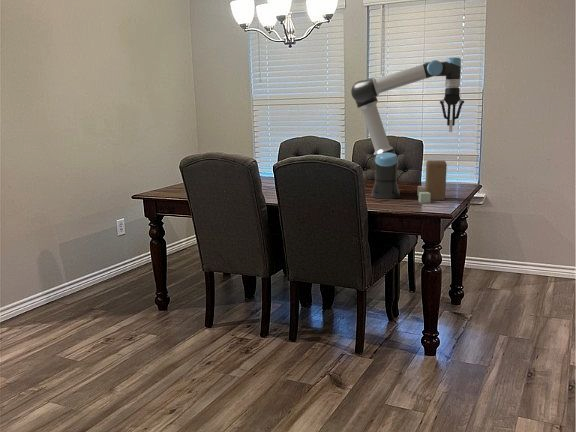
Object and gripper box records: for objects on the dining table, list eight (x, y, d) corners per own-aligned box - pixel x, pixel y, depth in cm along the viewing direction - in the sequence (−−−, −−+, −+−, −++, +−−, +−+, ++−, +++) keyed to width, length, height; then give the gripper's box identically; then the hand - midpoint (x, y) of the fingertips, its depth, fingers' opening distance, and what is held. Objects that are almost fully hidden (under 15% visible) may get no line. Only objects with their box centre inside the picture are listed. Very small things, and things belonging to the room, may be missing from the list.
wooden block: (445, 200, 297) (446, 162, 293) (425, 200, 299) (426, 162, 295) (443, 197, 307) (445, 160, 303) (424, 197, 309) (426, 160, 305)
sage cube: (420, 203, 292) (420, 193, 291) (418, 201, 297) (418, 192, 296) (430, 203, 292) (430, 193, 291) (428, 201, 297) (428, 191, 296)
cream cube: (417, 196, 312) (417, 187, 311) (418, 194, 317) (418, 185, 316) (426, 196, 311) (426, 187, 310) (427, 195, 315) (427, 186, 314)
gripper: (440, 87, 303) (438, 132, 307) (466, 87, 300) (463, 132, 305) (439, 87, 310) (437, 131, 315) (464, 87, 307) (462, 131, 312)
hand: (450, 131), depth 310 cm, fingers closed
